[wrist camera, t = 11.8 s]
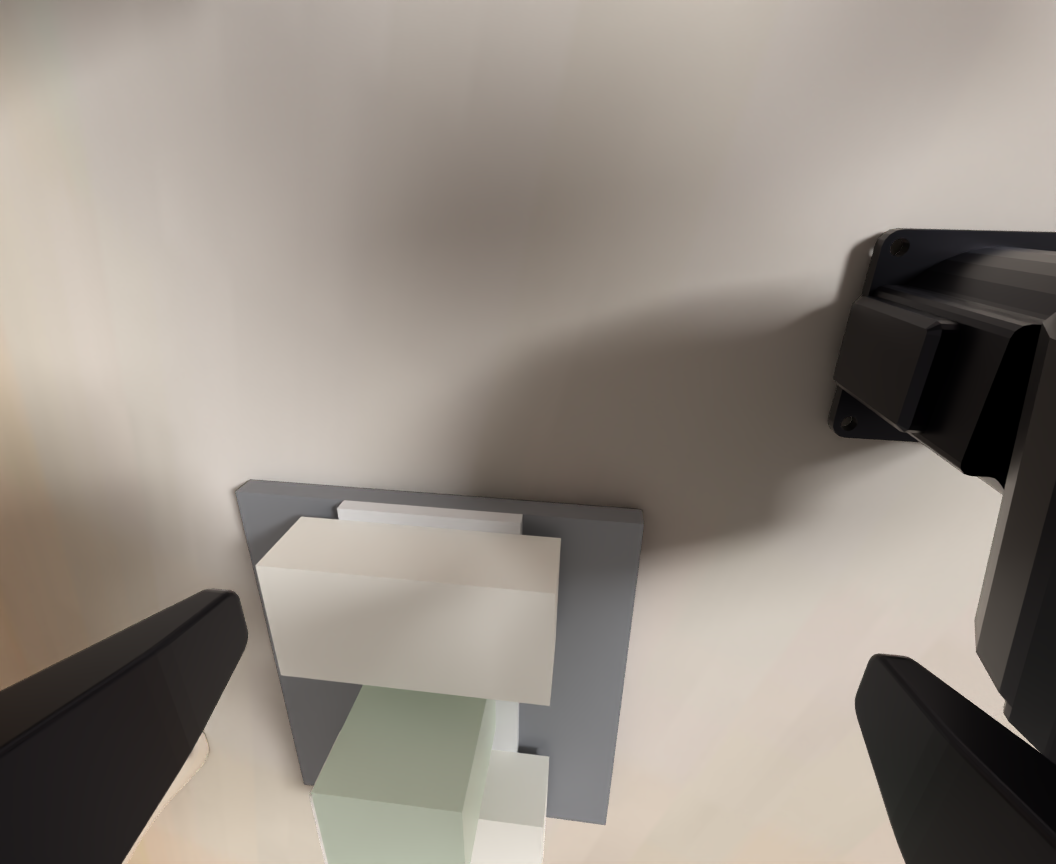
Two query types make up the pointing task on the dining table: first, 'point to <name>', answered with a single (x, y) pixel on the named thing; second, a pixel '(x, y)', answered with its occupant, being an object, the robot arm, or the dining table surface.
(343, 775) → the block
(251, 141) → the dining table surface
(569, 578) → the rail panel
